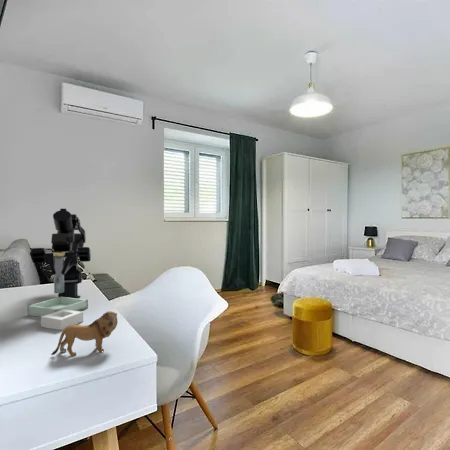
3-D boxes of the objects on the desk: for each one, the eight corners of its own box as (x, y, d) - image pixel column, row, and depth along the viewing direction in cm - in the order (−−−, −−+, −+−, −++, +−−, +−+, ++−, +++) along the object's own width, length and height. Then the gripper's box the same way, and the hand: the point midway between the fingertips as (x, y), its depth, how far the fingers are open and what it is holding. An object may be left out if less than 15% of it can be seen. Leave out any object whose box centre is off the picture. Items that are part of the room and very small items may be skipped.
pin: (60, 290, 105) (60, 251, 104) (67, 291, 103) (67, 251, 103) (50, 292, 101) (50, 252, 101) (57, 294, 100) (57, 253, 99)
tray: (60, 304, 111) (60, 296, 111) (87, 308, 107) (87, 299, 107) (27, 314, 99) (27, 305, 99) (56, 319, 94) (56, 309, 94)
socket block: (63, 318, 95) (63, 309, 95) (83, 321, 93) (83, 311, 93) (41, 326, 88) (41, 316, 88) (61, 330, 85) (61, 319, 85)
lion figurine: (116, 341, 78) (116, 307, 77) (119, 349, 73) (119, 313, 73) (51, 352, 71) (51, 315, 71) (50, 362, 66) (50, 322, 66)
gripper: (31, 225, 102) (20, 261, 92) (89, 225, 108) (86, 259, 98) (37, 245, 110) (28, 280, 100) (92, 244, 116) (88, 277, 106)
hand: (58, 274), depth 101 cm, fingers closed on pin, 3 cm apart
